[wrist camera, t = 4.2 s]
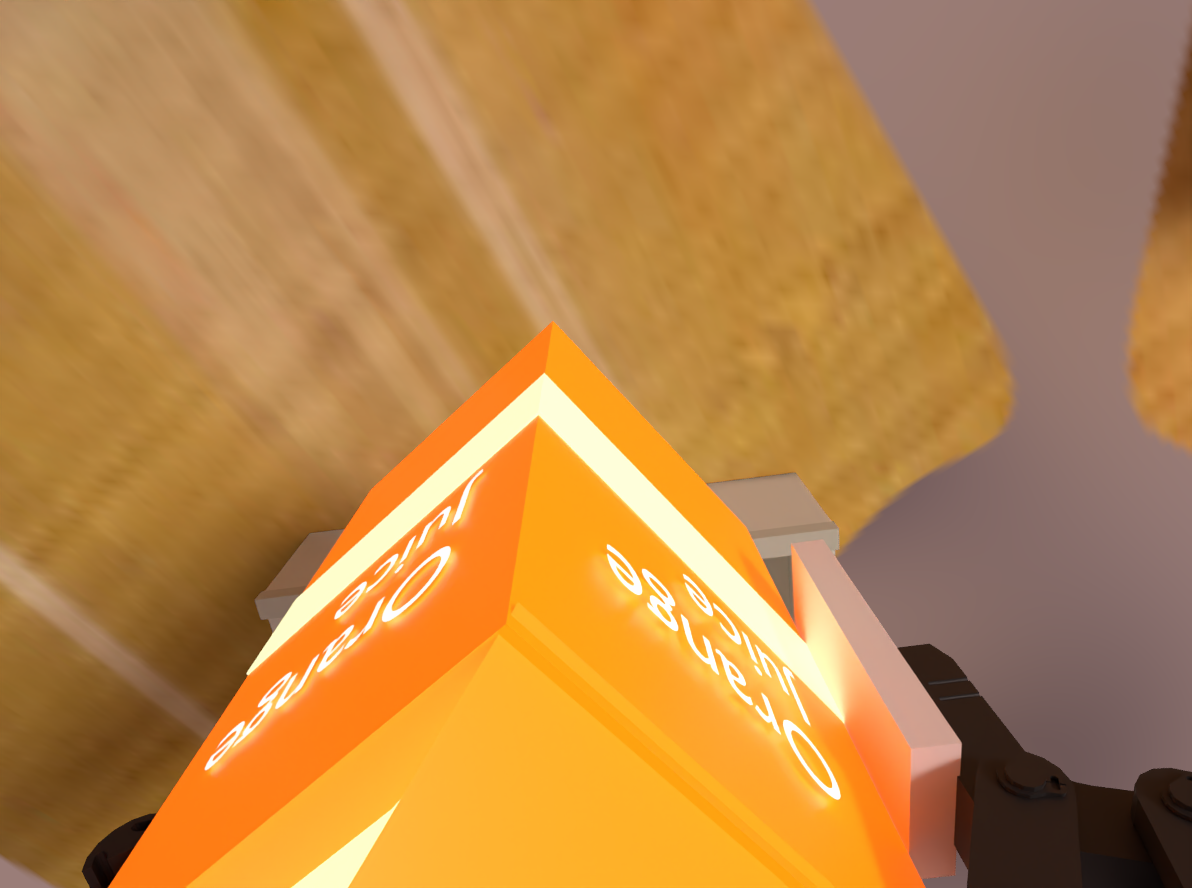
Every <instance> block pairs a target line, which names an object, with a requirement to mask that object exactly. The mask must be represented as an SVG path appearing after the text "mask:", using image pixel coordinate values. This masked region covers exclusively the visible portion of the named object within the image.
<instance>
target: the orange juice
mask: <svg viewBox="0 0 1192 888" xmlns="http://www.w3.org/2000/svg"><path fill="white" fill-rule="evenodd" d="M246 674H247V675H248V677H247V678H246V680H245V681H244V683H243V684H242V686H241V687H240V689H239V690H238V692H237V693H236V695H235V696H234V698H233V699H232V701H231V702H230V704H229V705H228V707H227V708H226V710H225V711H224V713H223V714H222V716H221V717H220V719H219V720H218V722H217V723H216V725H215V726H214V728H213V730H212V731H211V733H210V734H209V736H208V737H207V739H206V740H205V742H204V743H203V745H202V746H201V748H200V749H199V751H198V752H197V754H196V755H195V757H194V758H193V760H192V761H191V763H190V764H189V766H188V767H187V769H186V770H185V772H184V773H183V775H182V776H181V778H180V779H179V781H178V782H177V784H176V785H175V787H174V789H173V790H172V792H171V793H170V795H169V796H168V798H167V799H166V801H165V802H164V804H163V805H162V807H161V808H160V810H159V811H158V813H157V814H156V816H155V817H154V819H153V820H152V822H151V823H150V825H149V826H148V828H147V829H146V831H145V832H144V834H143V835H142V837H141V838H140V840H139V841H138V843H137V844H136V846H135V848H134V849H133V851H132V852H131V854H130V855H129V857H128V858H127V860H126V861H125V863H124V864H123V866H122V867H121V869H120V870H119V872H118V873H117V875H116V876H115V878H114V879H113V881H112V882H111V884H110V885H109V887H108V888H925V886H924V884H923V882H922V880H921V878H920V876H919V874H918V872H917V870H916V868H915V866H914V864H913V862H912V860H911V858H910V856H909V854H908V852H907V850H906V848H905V846H904V844H903V842H902V840H901V838H900V836H899V834H898V832H897V830H896V828H895V826H894V824H893V822H892V820H891V818H890V816H889V814H888V812H887V810H886V808H885V806H884V804H883V802H882V800H881V798H880V796H879V794H878V791H877V789H876V787H875V785H874V783H873V781H872V779H871V777H870V775H869V773H868V771H867V769H866V767H865V765H864V763H863V761H862V759H861V757H860V755H859V753H858V751H857V749H856V747H855V745H854V743H853V741H852V739H851V737H850V735H849V733H848V731H847V729H846V727H845V725H844V719H843V717H842V715H841V713H840V711H839V709H838V707H837V705H836V703H835V701H834V699H833V697H832V695H831V693H830V691H829V689H828V687H827V685H826V683H825V681H824V679H823V677H822V675H821V673H820V671H819V669H818V667H817V665H816V663H815V661H814V659H813V657H812V655H811V652H810V650H809V648H808V646H807V644H806V643H805V642H804V641H803V640H802V639H801V637H800V635H799V633H798V631H797V629H796V627H795V625H794V623H793V620H792V618H791V616H790V614H789V612H788V610H787V608H786V606H785V604H784V602H783V600H782V598H781V596H780V594H779V592H778V590H777V588H776V586H775V584H774V582H773V580H772V578H771V576H770V574H769V572H768V570H767V568H766V566H765V564H764V562H763V560H762V558H761V556H760V554H759V552H758V550H757V548H756V546H755V544H754V542H753V540H752V538H751V536H750V534H749V532H748V530H747V528H746V527H745V525H744V524H743V523H742V522H741V521H740V520H739V519H738V518H737V517H736V516H735V515H734V514H733V513H732V512H731V511H730V509H729V508H728V507H727V506H726V505H725V504H724V503H723V502H722V501H721V500H720V499H719V498H718V497H717V496H716V495H715V493H714V492H713V491H712V490H711V489H710V488H709V487H708V486H707V485H706V484H705V483H704V482H703V481H702V480H701V479H700V477H699V476H698V475H697V474H696V473H695V472H694V471H693V470H692V469H691V468H690V467H689V466H688V465H687V464H686V462H685V461H684V460H683V459H682V458H681V457H680V456H679V455H678V454H677V453H676V452H675V451H674V450H673V449H672V448H671V446H670V445H669V444H668V443H667V442H666V441H665V440H664V439H663V438H662V437H661V436H660V435H659V434H658V433H657V432H656V430H655V429H654V428H653V427H652V426H651V425H650V424H649V423H648V422H647V421H646V420H645V419H644V418H643V417H642V416H641V414H640V413H639V412H638V411H637V410H636V409H635V408H634V407H633V406H632V405H631V404H630V403H629V402H628V401H627V399H626V398H625V397H624V396H623V395H622V394H621V393H620V392H619V391H618V390H617V389H616V388H615V387H614V386H613V385H612V383H611V382H610V381H609V380H608V379H607V378H606V377H605V376H604V375H603V374H602V373H601V372H600V371H599V370H598V369H597V367H596V366H595V365H594V364H593V363H592V362H591V361H590V360H589V359H588V358H587V357H586V356H585V355H584V354H583V353H582V351H581V350H580V349H579V348H578V347H577V346H576V345H575V344H574V343H573V342H572V341H571V340H570V339H569V338H568V336H567V335H566V334H565V333H564V332H563V331H562V330H561V329H560V328H559V327H558V326H557V325H556V324H555V323H554V322H553V321H552V322H551V323H550V324H549V325H548V326H547V327H546V328H545V329H544V330H543V331H542V332H541V333H539V334H538V335H537V336H536V337H535V338H534V339H533V340H532V341H531V342H530V343H529V344H528V345H527V346H525V347H524V348H523V349H522V350H521V351H520V352H519V353H518V354H517V355H516V356H515V357H514V358H513V359H511V360H510V361H509V362H508V363H507V364H506V365H505V366H504V367H503V368H502V369H501V370H500V371H499V372H497V373H496V374H495V375H494V376H493V377H492V378H491V379H490V380H489V381H488V382H487V383H486V384H485V385H483V386H482V387H481V388H480V389H479V390H478V391H477V392H476V393H475V394H474V395H473V396H472V397H471V398H469V399H468V400H467V401H466V402H465V403H464V404H463V405H462V406H461V407H460V408H459V409H458V410H457V411H455V412H454V413H453V414H452V415H451V416H450V417H449V418H448V419H447V420H446V421H445V422H444V423H443V424H441V425H440V426H439V427H438V428H437V429H436V430H435V431H434V432H433V433H432V434H431V435H430V436H429V437H427V438H426V439H425V440H424V441H423V442H422V443H421V444H420V445H419V446H418V447H417V448H416V449H415V450H413V451H412V452H411V453H410V454H409V455H408V456H407V457H406V458H405V459H404V460H403V461H402V462H401V463H399V464H398V465H397V466H396V467H395V468H394V469H393V470H392V471H391V472H390V473H389V474H388V475H387V476H385V477H384V478H383V479H382V480H381V481H380V482H379V483H378V484H377V485H376V486H375V487H374V488H373V489H371V490H370V492H369V494H368V495H367V497H366V498H365V500H364V501H363V503H362V504H361V506H360V507H359V509H358V510H357V512H356V513H355V515H354V516H353V518H352V519H351V521H350V522H349V524H348V525H347V527H346V528H345V530H344V531H343V533H342V534H341V536H340V537H339V539H338V540H337V542H336V543H335V545H334V546H333V548H332V549H331V551H330V553H329V554H328V556H327V557H326V559H325V560H324V562H323V563H322V565H321V566H320V568H319V569H318V571H317V572H316V574H315V575H314V577H313V578H312V580H311V581H310V583H309V584H308V586H307V587H306V589H305V590H304V592H303V593H302V594H301V595H300V596H299V597H298V598H297V599H296V600H295V601H294V603H293V604H292V606H291V607H290V609H289V610H288V612H287V613H286V615H285V616H284V618H283V619H282V621H281V622H280V624H279V625H278V627H277V628H276V630H275V631H274V633H273V634H272V636H271V637H270V639H269V640H268V642H267V643H266V645H265V646H264V648H263V649H262V651H261V652H260V654H259V655H258V657H257V658H256V660H255V661H254V663H253V664H252V666H251V667H250V669H249V670H248V672H247V673H246Z"/></svg>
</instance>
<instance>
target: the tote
mask: <svg viewBox="0 0 1192 888" xmlns="http://www.w3.org/2000/svg"><path fill="white" fill-rule="evenodd" d="M706 485H707V486H708V487H709V488H710V489H711V490H712V491H713V492H714V493H715V495H716V496H717V497H718V498H719V499H720V500H721V501H722V502H723V503H724V504H725V505H726V506H727V507H728V508H729V509H730V511H731V512H732V513H733V514H734V515H735V516H736V517H737V518H738V519H739V520H740V521H741V522H742V523H743V524H744V525H745V527H746V528H747V530H748V532H749V534H750V536H751V538H752V540H753V542H754V544H755V546H756V548H757V550H758V552H759V554H760V556H761V558H762V560H763V562H764V564H765V566H766V568H767V570H768V572H769V574H770V576H771V578H772V580H773V582H774V584H775V586H776V588H777V590H778V592H779V594H780V596H781V598H782V600H783V602H784V604H785V606H786V608H787V610H788V612H789V614H790V616H791V618H792V620H793V623H794V625H795V618H794V597H793V575H792V553H791V543H798V542H806V541H814V540H821V539H823V540H824V541H825V543H826V544H827V546H828V547H829V549H830V550H831V552H832V553H833V554H834V556H835V550H839V528H838V527H837V525H836V524H835V523H834V521H831V520H830V519H829V518H828V516H827V515H826V513H825V512H824V511H823V509H822V508H821V507H820V505H819V504H818V503H817V501H816V500H815V499H814V497H813V496H812V494H811V493H810V492H809V490H808V489H807V488H806V486H805V485H804V484H803V482H802V481H801V479H800V478H799V477H798V475H797V474H796V473H789V474H781V475H773V476H765V477H757V478H749V479H741V480H733V481H725V482H717V483H709V484H706ZM344 530H345V529H340V530H332V531H324V532H316V533H309V535H308V536H307V537H306V539H305V540H304V541H303V542H302V544H301V545H300V546H299V548H298V549H297V550H296V552H295V553H294V554H293V555H292V557H291V558H290V559H289V561H288V562H287V563H286V564H285V566H284V567H283V568H282V570H281V571H280V572H279V573H278V575H277V576H276V577H275V579H274V580H273V581H272V582H271V584H270V585H269V586H268V588H267V589H266V590H265V591H261V592H260V594H259V595H258V596H257V597H256V599H255V600H254V601H255V603H256V606H257V609H258V612H259V615H260V618H261V620H265V619H268V620H269V623H270V626H271V629H272V632H273V633H274V631H275V630H276V628H277V627H278V625H279V624H280V622H281V621H282V619H283V618H284V616H285V615H286V613H287V612H288V610H289V609H290V607H291V606H292V604H293V603H294V601H295V600H296V599H297V598H298V597H299V596H300V595H301V594H302V593H303V592H304V590H305V589H306V587H307V586H308V584H309V583H310V581H311V580H312V578H313V577H314V575H315V574H316V572H317V571H318V569H319V568H320V566H321V565H322V563H323V562H324V560H325V559H326V557H327V556H328V554H329V553H330V551H331V549H332V548H333V546H334V545H335V543H336V542H337V540H338V539H339V537H340V536H341V534H342V533H343V531H344Z"/></svg>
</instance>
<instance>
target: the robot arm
mask: <svg viewBox="0 0 1192 888" xmlns="http://www.w3.org/2000/svg"><path fill="white" fill-rule="evenodd" d="M791 553H792V575H793V597H794V618H795V627H796V629H797V631H798V633H799V635H800V637H801V639H802V640H803V641H804V642H805V643H806V644H807V646H808V648H809V650H810V652H811V655H812V657H813V659H814V661H815V663H816V665H817V667H818V669H819V671H820V673H821V675H822V677H823V679H824V681H825V683H826V685H827V687H828V689H829V691H830V693H831V695H832V697H833V699H834V701H835V703H836V705H837V707H838V709H839V711H840V713H841V715H842V717H843V719H844V725H845V727H846V729H847V731H848V733H849V735H850V737H851V739H852V741H853V743H854V745H855V747H856V749H857V751H858V753H859V755H860V757H861V759H862V761H863V763H864V765H865V767H866V769H867V771H868V773H869V775H870V777H871V779H872V781H873V783H874V785H875V787H876V789H877V791H878V794H879V796H880V798H881V800H882V802H883V804H884V806H885V808H886V810H887V812H888V814H889V816H890V818H891V820H892V822H893V824H894V826H895V828H896V830H897V832H898V834H899V836H900V838H901V840H902V842H903V844H904V846H905V848H906V850H907V852H908V854H909V856H910V858H911V860H912V862H913V864H914V866H915V868H916V870H917V872H918V874H919V876H920V878H921V879H926V878H935V877H943V876H952V875H955V865H956V849H957V851H958V853H959V855H960V856H961V858H962V860H963V862H964V863H965V865H966V867H967V869H968V881H967V888H1192V772H1188V771H1183V770H1178V769H1173V768H1161V769H1151V770H1149V771H1147V772H1145V773H1143V774H1141V775H1140V776H1139V778H1138V780H1137V782H1136V783H1135V787H1134V791H1128V790H1120V789H1113V788H1105V787H1098V786H1091V785H1086V784H1081V783H1076V782H1073V781H1071V780H1070V779H1069V778H1068V777H1067V776H1066V775H1065V774H1064V773H1063V772H1062V770H1061V769H1060V768H1058V767H1057V766H1055V765H1054V764H1052V763H1050V762H1049V761H1047V760H1046V759H1044V758H1042V757H1039V756H1037V755H1034V754H1031V753H1027V752H1025V751H1024V750H1023V748H1022V747H1021V746H1020V744H1019V743H1018V742H1017V740H1016V739H1015V738H1014V737H1013V735H1012V734H1011V733H1010V732H1009V730H1008V729H1007V728H1006V726H1005V725H1004V724H1003V723H1002V722H1001V720H1000V719H999V717H997V715H996V714H995V712H994V711H993V710H992V708H991V707H990V706H989V705H988V703H987V702H986V701H985V700H984V698H983V697H982V696H980V695H979V692H978V691H977V689H976V688H975V687H974V686H973V684H972V683H971V682H970V681H968V680H967V677H966V675H965V674H964V673H963V671H962V670H961V669H960V668H959V666H958V665H957V664H956V662H955V661H954V660H953V659H952V658H951V657H949V656H948V655H946V654H945V653H943V652H941V651H940V650H938V649H937V648H935V647H934V646H932V645H930V644H924V645H916V646H908V647H900V648H897V647H896V646H895V644H894V643H893V641H892V640H891V638H890V637H889V635H888V634H887V633H886V631H885V630H884V628H883V627H882V625H881V624H880V622H879V621H878V619H877V618H876V616H875V615H874V613H873V612H872V611H871V609H870V607H869V606H868V605H867V603H866V602H865V600H864V599H863V597H862V596H861V594H860V593H859V591H858V590H857V589H856V587H855V585H854V584H853V583H852V581H851V579H850V578H849V577H848V575H847V574H846V572H845V571H844V569H843V568H842V566H841V565H840V563H839V562H838V560H837V559H836V557H835V556H834V554H833V553H832V552H831V550H830V549H829V547H828V546H827V544H826V543H825V541H824V540H823V539H821V540H814V541H806V542H798V543H791ZM155 816H156V814H148V815H145V816H142V817H139V818H136V819H134V820H131V821H129V822H128V823H126V824H124V825H122V826H121V827H119V828H117V829H115V830H114V831H113V832H111V833H110V834H109V835H108V836H107V837H105V838H104V839H103V840H102V841H101V842H99V843H98V844H97V846H96V847H95V848H94V850H93V851H92V852H91V853H90V855H89V856H88V857H87V859H86V862H85V864H84V867H83V870H82V873H83V875H84V877H85V879H86V881H87V882H88V884H89V886H90V888H108V887H109V885H110V884H111V882H112V881H113V879H114V878H115V876H116V875H117V873H118V872H119V870H120V869H121V867H122V866H123V864H124V863H125V861H126V860H127V858H128V857H129V855H130V854H131V852H132V851H133V849H134V848H135V846H136V844H137V843H138V841H139V840H140V838H141V837H142V835H143V834H144V832H145V831H146V829H147V828H148V826H149V825H150V823H151V822H152V820H153V819H154V817H155Z"/></svg>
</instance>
